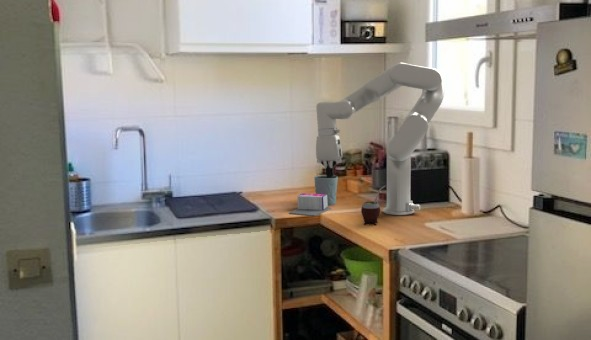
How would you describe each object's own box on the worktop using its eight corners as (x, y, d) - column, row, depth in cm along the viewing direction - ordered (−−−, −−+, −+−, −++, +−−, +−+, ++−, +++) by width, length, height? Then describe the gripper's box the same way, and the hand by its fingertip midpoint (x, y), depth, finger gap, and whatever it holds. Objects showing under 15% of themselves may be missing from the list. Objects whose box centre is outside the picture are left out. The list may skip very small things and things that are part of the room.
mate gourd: (357, 223, 247) (357, 184, 244) (374, 220, 251) (374, 182, 248) (369, 227, 240) (369, 187, 238) (386, 224, 244) (386, 184, 242)
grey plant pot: (310, 203, 283) (309, 176, 282) (328, 200, 289) (327, 173, 287) (324, 207, 275) (324, 179, 273) (342, 203, 281) (342, 176, 279)
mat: (331, 208, 272) (331, 207, 272) (315, 216, 259) (315, 215, 259) (305, 206, 278) (305, 205, 278) (288, 213, 265) (288, 212, 265)
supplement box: (323, 196, 266) (296, 196, 270) (323, 210, 267) (297, 209, 271) (327, 193, 272) (301, 193, 275) (327, 207, 273) (302, 206, 276)
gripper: (348, 131, 261) (350, 175, 264) (314, 131, 268) (317, 175, 271) (340, 133, 255) (343, 179, 258) (306, 134, 262) (309, 178, 265)
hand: (330, 177), depth 264 cm, fingers closed
